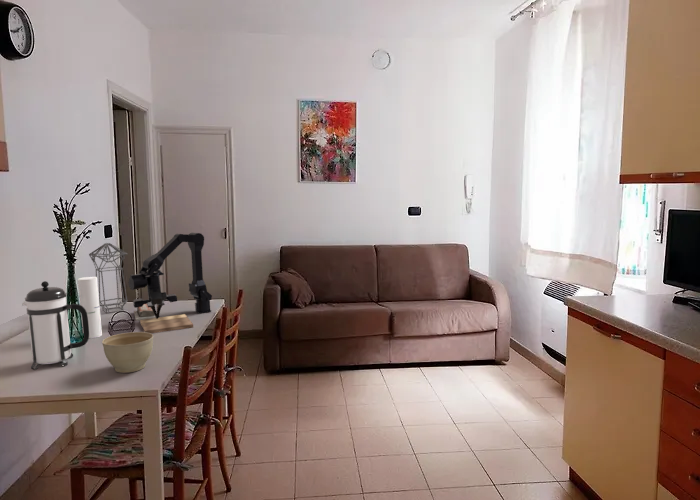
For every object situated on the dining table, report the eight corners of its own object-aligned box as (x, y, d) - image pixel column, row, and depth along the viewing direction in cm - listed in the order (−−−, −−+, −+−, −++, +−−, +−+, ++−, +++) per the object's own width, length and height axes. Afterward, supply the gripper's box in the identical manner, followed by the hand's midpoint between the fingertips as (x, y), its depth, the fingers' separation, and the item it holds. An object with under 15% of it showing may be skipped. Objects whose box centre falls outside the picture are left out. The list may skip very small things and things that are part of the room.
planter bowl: (153, 373, 171) (151, 342, 170) (101, 379, 167) (98, 347, 165) (157, 358, 187) (155, 329, 185) (109, 363, 182) (106, 334, 181)
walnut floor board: (187, 320, 240) (187, 317, 240) (193, 327, 227) (193, 324, 227) (142, 326, 231) (141, 323, 230) (145, 334, 218) (145, 330, 218)
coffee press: (44, 374, 173) (35, 287, 170) (20, 366, 182) (11, 283, 178) (92, 358, 188) (85, 278, 184) (68, 352, 196) (61, 275, 193)
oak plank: (185, 317, 246) (184, 314, 246) (187, 320, 240) (187, 316, 240) (140, 323, 237) (140, 320, 237) (141, 326, 231) (141, 323, 231)
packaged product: (132, 304, 256) (154, 302, 261) (133, 313, 257) (154, 311, 261) (135, 311, 240) (157, 309, 245) (136, 322, 241) (158, 319, 245)
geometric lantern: (99, 316, 252) (93, 245, 247) (93, 310, 264) (87, 243, 260) (133, 311, 261) (127, 242, 257) (125, 305, 274) (120, 240, 269)
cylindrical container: (105, 334, 219) (100, 277, 216) (91, 339, 213) (85, 280, 210) (94, 332, 222) (89, 276, 219) (79, 337, 216) (74, 279, 213)
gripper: (133, 292, 225) (137, 326, 228) (177, 285, 234) (180, 318, 236) (131, 287, 235) (135, 320, 237) (173, 281, 243) (176, 313, 246)
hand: (157, 318), depth 239 cm, fingers closed
